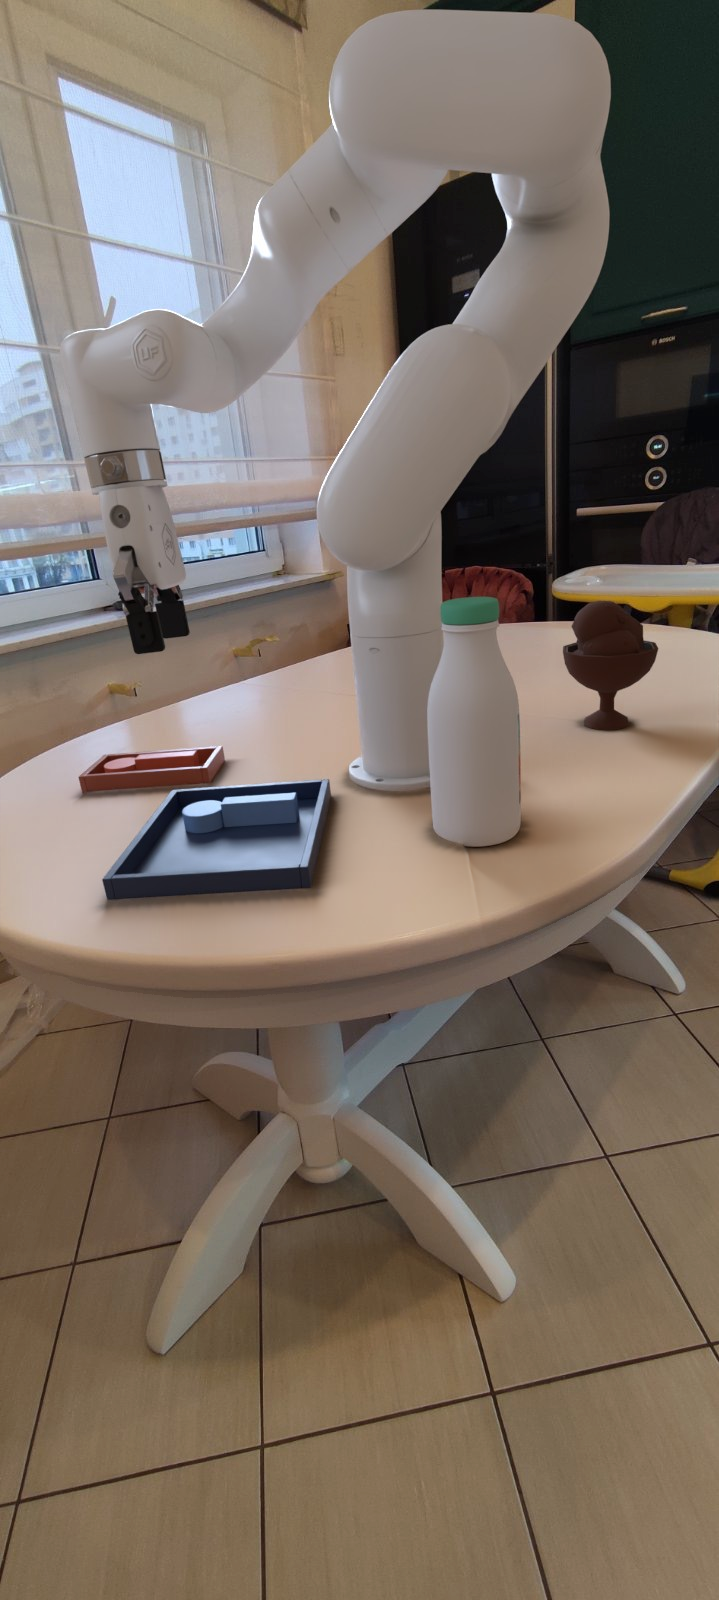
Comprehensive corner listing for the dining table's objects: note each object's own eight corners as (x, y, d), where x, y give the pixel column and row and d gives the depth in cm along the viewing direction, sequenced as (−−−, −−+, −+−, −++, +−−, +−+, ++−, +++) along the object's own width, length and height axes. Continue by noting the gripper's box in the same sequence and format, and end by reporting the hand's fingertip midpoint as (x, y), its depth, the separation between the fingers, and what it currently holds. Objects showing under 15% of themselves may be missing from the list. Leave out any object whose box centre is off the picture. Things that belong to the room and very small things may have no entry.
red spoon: (202, 766, 87) (199, 747, 86) (194, 777, 83) (190, 758, 82) (114, 772, 88) (109, 754, 87) (101, 784, 84) (97, 765, 83)
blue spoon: (300, 810, 71) (297, 788, 70) (295, 827, 67) (292, 803, 66) (191, 818, 72) (186, 795, 71) (180, 835, 68) (175, 811, 67)
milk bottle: (520, 849, 60) (519, 603, 53) (428, 849, 62) (414, 609, 54) (520, 812, 67) (519, 590, 60) (437, 813, 69) (426, 596, 61)
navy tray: (331, 799, 74) (329, 778, 74) (311, 893, 56) (308, 866, 56) (176, 810, 76) (172, 789, 75) (108, 904, 58) (101, 879, 57)
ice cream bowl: (642, 740, 83) (650, 606, 77) (547, 731, 89) (548, 606, 83) (663, 715, 91) (671, 592, 85) (575, 709, 97) (577, 593, 91)
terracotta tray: (225, 763, 89) (222, 745, 88) (210, 786, 81) (207, 767, 81) (108, 772, 90) (104, 754, 89) (82, 795, 83) (77, 776, 82)
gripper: (134, 465, 65) (175, 655, 71) (185, 474, 81) (215, 628, 87) (55, 476, 66) (102, 663, 72) (121, 483, 82) (155, 635, 88)
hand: (164, 644), depth 80 cm, fingers open, 9 cm apart
